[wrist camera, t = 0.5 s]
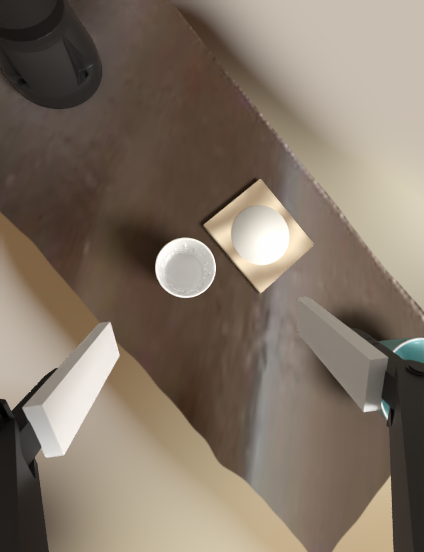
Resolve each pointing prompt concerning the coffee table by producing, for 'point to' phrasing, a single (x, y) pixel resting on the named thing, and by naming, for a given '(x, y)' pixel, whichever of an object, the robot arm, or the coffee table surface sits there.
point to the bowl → (403, 357)
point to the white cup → (185, 267)
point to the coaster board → (258, 235)
